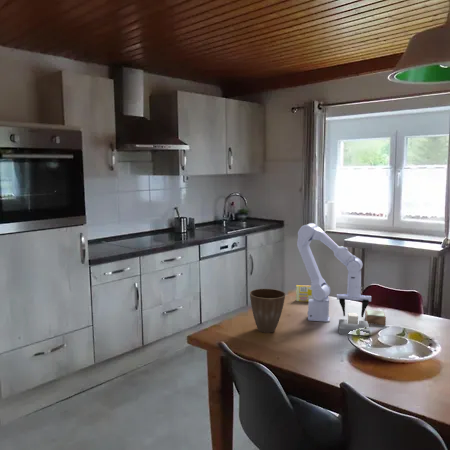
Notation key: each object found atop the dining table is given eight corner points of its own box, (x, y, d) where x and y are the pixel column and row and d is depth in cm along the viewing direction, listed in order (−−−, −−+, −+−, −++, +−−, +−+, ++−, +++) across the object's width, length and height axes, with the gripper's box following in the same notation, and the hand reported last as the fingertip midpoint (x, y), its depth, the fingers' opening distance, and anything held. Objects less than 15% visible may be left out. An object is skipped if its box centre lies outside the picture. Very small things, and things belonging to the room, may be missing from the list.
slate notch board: (369, 336, 184) (369, 330, 183) (339, 334, 186) (339, 328, 186) (367, 326, 195) (367, 321, 195) (338, 324, 198) (338, 319, 198)
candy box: (327, 301, 234) (327, 285, 233) (327, 302, 232) (328, 286, 231) (295, 300, 236) (296, 284, 235) (296, 301, 234) (296, 285, 233)
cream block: (357, 326, 196) (358, 316, 196) (348, 325, 197) (348, 315, 196) (356, 323, 200) (357, 313, 200) (347, 322, 201) (348, 312, 201)
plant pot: (286, 325, 196) (287, 290, 194) (281, 337, 182) (282, 299, 180) (253, 322, 200) (253, 287, 198) (245, 334, 186) (246, 296, 184)
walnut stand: (366, 323, 199) (366, 314, 199) (365, 318, 207) (365, 309, 207) (385, 325, 197) (385, 316, 197) (383, 319, 205) (383, 310, 205)
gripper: (337, 287, 195) (336, 317, 196) (372, 289, 191) (371, 320, 193) (336, 283, 201) (336, 312, 203) (370, 285, 198) (369, 314, 200)
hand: (353, 316), depth 198 cm, fingers open, 7 cm apart
